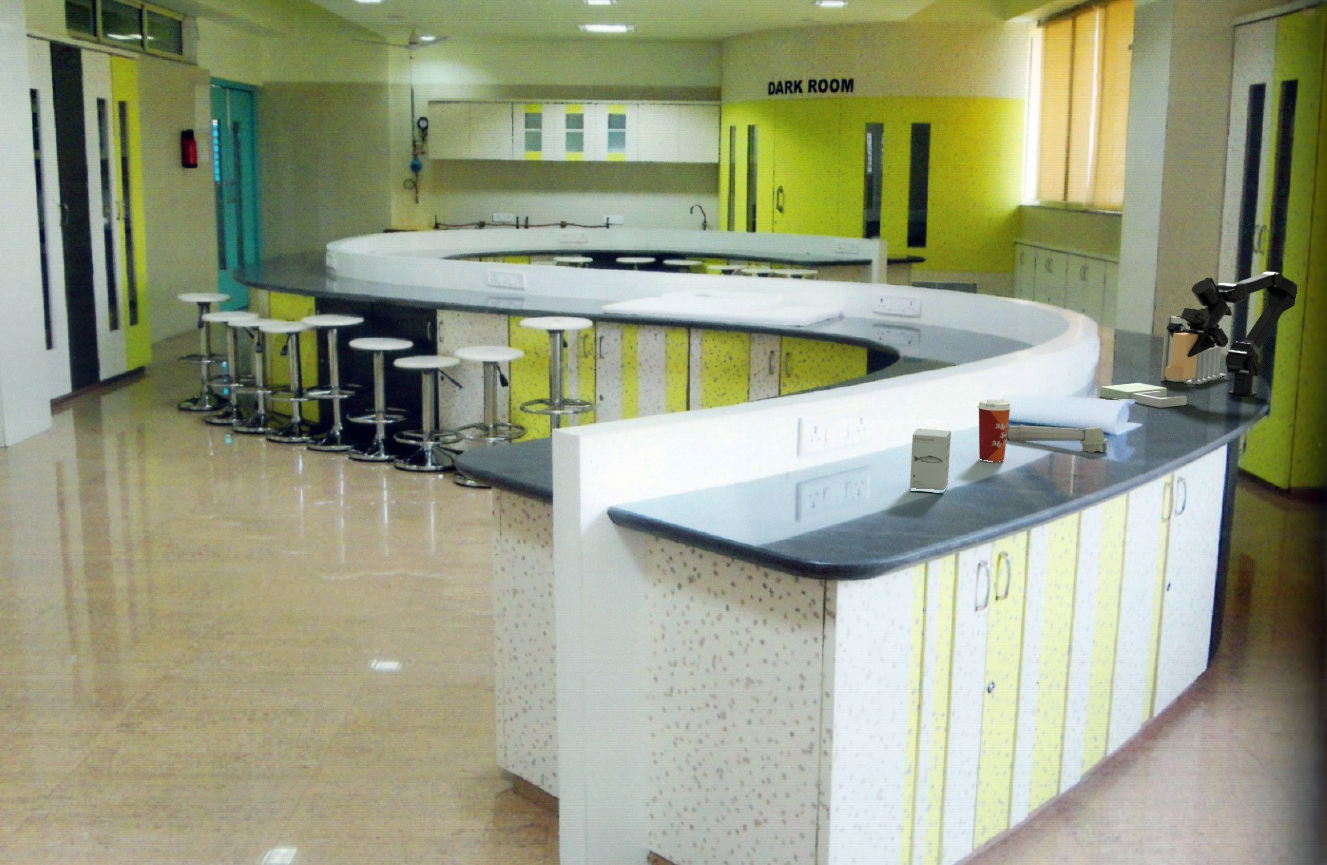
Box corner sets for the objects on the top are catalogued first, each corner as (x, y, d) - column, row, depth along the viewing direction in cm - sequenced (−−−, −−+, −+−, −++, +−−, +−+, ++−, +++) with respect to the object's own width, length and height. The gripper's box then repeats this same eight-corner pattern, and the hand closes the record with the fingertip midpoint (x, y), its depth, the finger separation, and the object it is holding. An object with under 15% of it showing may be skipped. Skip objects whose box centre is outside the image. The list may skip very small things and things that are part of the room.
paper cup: (1003, 465, 277) (1006, 406, 274) (970, 461, 280) (973, 403, 278) (1012, 458, 283) (1015, 400, 280) (980, 455, 287) (983, 397, 284)
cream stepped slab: (1137, 392, 372) (1138, 382, 371) (1195, 403, 353) (1196, 393, 352) (1099, 396, 365) (1100, 386, 365) (1156, 408, 346) (1157, 397, 345)
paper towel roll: (1187, 380, 395) (1192, 316, 390) (1184, 382, 390) (1189, 317, 385) (1164, 378, 398) (1169, 314, 394) (1160, 381, 393) (1165, 316, 389)
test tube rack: (1198, 385, 386) (1201, 344, 383) (1184, 383, 389) (1187, 343, 386) (1225, 376, 403) (1229, 337, 401) (1212, 374, 406) (1215, 336, 404)
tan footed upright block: (1181, 375, 359) (1185, 332, 357) (1195, 377, 355) (1199, 334, 352) (1164, 377, 356) (1168, 333, 354) (1177, 379, 352) (1182, 335, 349)
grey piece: (1012, 423, 306) (1109, 422, 290) (1014, 449, 307) (1111, 449, 290) (1003, 426, 302) (1101, 425, 286) (1005, 452, 303) (1103, 452, 286)
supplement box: (908, 492, 253) (911, 434, 250) (914, 484, 260) (916, 427, 257) (944, 495, 250) (946, 436, 248) (949, 486, 257) (951, 429, 254)
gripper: (1173, 295, 361) (1143, 333, 359) (1225, 301, 345) (1194, 340, 342) (1189, 320, 366) (1160, 358, 364) (1241, 326, 350) (1211, 366, 347)
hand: (1180, 355), depth 354 cm, fingers closed on tan footed upright block, 5 cm apart
